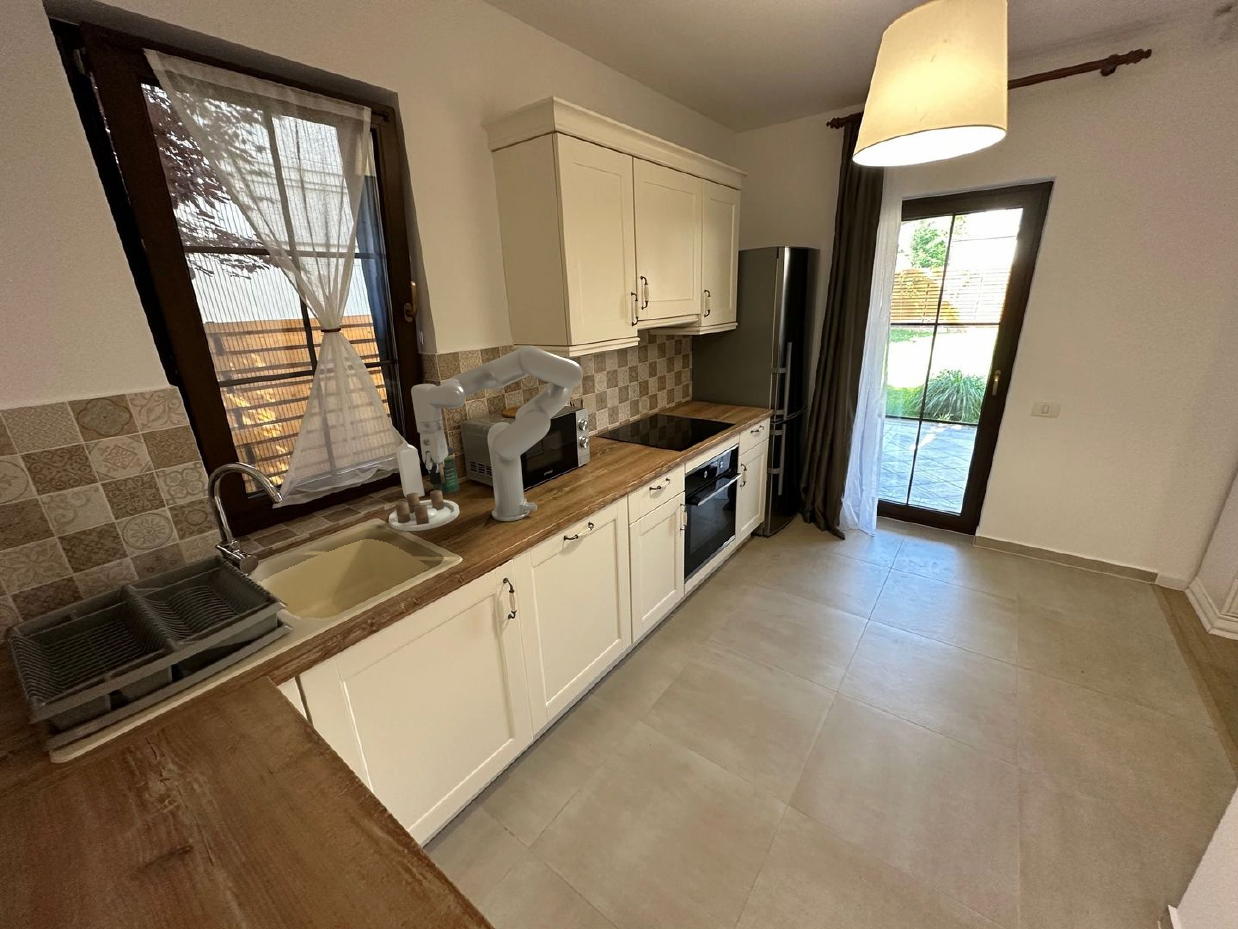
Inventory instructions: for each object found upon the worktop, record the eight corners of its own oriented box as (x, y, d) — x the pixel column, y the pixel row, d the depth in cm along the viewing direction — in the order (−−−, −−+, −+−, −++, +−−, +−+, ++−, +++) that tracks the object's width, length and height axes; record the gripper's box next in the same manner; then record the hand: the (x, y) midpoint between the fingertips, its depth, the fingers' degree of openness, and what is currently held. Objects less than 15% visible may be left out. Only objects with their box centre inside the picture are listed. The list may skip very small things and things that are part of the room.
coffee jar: (463, 491, 185) (456, 444, 179) (444, 497, 179) (436, 449, 173) (449, 485, 191) (443, 440, 185) (431, 491, 185) (423, 444, 179)
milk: (408, 502, 176) (397, 444, 169) (403, 497, 181) (393, 440, 173) (425, 497, 179) (415, 440, 172) (420, 492, 184) (411, 437, 177)
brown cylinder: (445, 506, 169) (443, 490, 168) (441, 510, 166) (439, 494, 164) (435, 505, 170) (432, 490, 168) (430, 510, 166) (428, 494, 164)
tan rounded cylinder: (446, 480, 155) (444, 462, 153) (442, 484, 151) (440, 466, 149) (434, 480, 155) (431, 462, 153) (430, 485, 151) (427, 466, 149)
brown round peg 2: (431, 521, 158) (428, 504, 156) (426, 526, 154) (423, 509, 152) (419, 521, 158) (417, 504, 156) (414, 526, 154) (411, 509, 152)
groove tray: (468, 505, 172) (468, 499, 171) (445, 533, 151) (444, 527, 151) (408, 505, 173) (407, 499, 173) (376, 533, 153) (375, 527, 152)
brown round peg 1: (412, 518, 160) (409, 501, 158) (407, 523, 157) (404, 506, 155) (401, 518, 161) (398, 501, 159) (396, 523, 157) (393, 506, 155)
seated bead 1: (422, 508, 168) (420, 492, 166) (417, 513, 164) (415, 497, 162) (411, 508, 168) (409, 492, 166) (406, 513, 164) (404, 497, 162)
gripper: (433, 432, 139) (442, 491, 145) (450, 418, 155) (458, 472, 161) (407, 433, 139) (417, 492, 145) (427, 419, 155) (435, 472, 161)
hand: (438, 481), depth 153 cm, fingers closed on tan rounded cylinder, 3 cm apart
